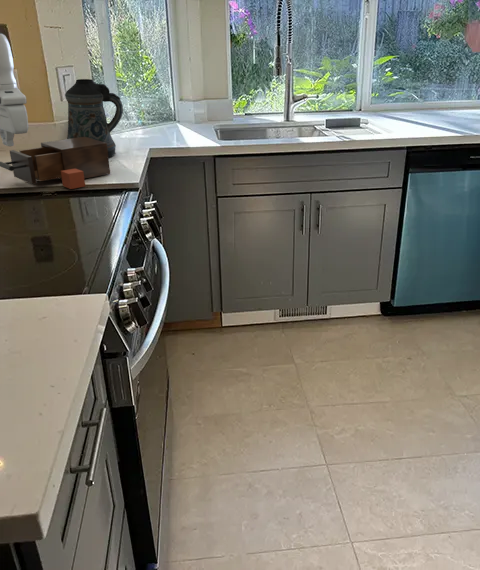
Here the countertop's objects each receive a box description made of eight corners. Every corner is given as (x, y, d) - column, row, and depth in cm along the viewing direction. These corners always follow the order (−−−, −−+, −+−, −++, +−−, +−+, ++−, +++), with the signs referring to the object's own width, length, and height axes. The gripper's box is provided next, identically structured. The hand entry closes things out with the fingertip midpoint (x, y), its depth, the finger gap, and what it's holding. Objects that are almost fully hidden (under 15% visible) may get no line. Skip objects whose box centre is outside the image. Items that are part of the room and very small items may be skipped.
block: (70, 189, 169) (68, 173, 167) (62, 186, 171) (60, 170, 169) (85, 186, 172) (83, 171, 170) (77, 183, 174) (75, 168, 173)
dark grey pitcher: (58, 154, 206) (45, 79, 195) (110, 145, 219) (100, 74, 208) (80, 163, 196) (67, 84, 185) (133, 154, 208) (124, 80, 197)
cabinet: (66, 181, 175) (61, 149, 171) (45, 173, 183) (40, 142, 179) (110, 173, 186) (106, 143, 181) (89, 166, 193) (85, 136, 189)
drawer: (16, 187, 165) (10, 159, 162) (-3, 179, 172) (-8, 152, 169) (76, 176, 178) (73, 150, 175) (57, 169, 185) (53, 144, 181)
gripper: (-29, 90, 164) (-20, 140, 169) (4, 99, 152) (13, 152, 158) (-5, 89, 168) (3, 138, 174) (29, 97, 156) (36, 150, 162)
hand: (8, 145), depth 166 cm, fingers closed
